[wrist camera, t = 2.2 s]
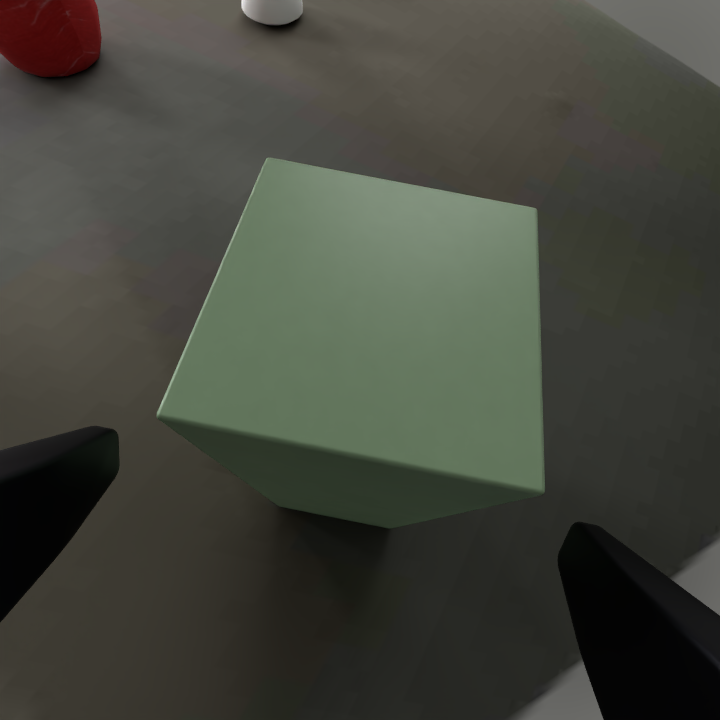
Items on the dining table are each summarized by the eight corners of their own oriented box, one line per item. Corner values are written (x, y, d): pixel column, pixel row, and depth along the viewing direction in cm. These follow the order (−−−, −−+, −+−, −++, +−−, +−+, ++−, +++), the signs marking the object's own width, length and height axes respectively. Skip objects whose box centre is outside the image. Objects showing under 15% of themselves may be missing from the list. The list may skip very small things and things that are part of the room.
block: (392, 529, 16) (548, 496, 5) (277, 506, 17) (152, 417, 5) (406, 417, 19) (538, 206, 7) (305, 397, 19) (265, 154, 7)
